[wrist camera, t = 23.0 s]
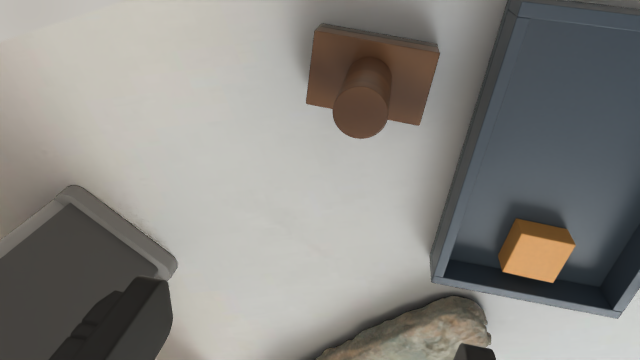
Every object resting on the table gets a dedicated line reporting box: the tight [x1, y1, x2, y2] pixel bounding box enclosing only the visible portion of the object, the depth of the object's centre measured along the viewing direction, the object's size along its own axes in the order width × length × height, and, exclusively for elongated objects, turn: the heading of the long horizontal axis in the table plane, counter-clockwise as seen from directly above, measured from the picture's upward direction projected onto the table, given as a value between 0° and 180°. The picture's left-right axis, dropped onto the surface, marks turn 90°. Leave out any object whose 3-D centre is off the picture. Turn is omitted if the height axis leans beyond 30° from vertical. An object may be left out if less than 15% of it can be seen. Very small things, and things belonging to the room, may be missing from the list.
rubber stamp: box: [306, 24, 440, 139], centre depth 26 cm, size 5×8×8 cm, turn 83°
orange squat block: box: [498, 219, 576, 283], centre depth 33 cm, size 4×4×2 cm
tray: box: [430, 0, 640, 319], centre depth 29 cm, size 22×15×3 cm
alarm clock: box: [0, 185, 177, 360], centre depth 38 cm, size 18×13×18 cm
